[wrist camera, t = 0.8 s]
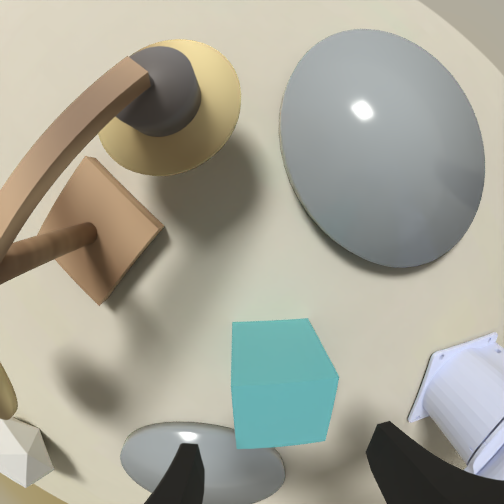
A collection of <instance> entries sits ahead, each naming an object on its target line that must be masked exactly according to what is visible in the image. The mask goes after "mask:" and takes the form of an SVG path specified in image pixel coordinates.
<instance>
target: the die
mask: <svg viewBox="0 0 504 504" xmlns="http://www.w3.org/2000/svg"><path fill="white" fill-rule="evenodd" d="M53 470H54V467H53V465H52V462H51V460H50V457H49V455H48V452H47V450H46V447H45V444H44V441H43V438H42V435H41V432H40V429H39V428H37V427H34V426H32V425H29V424H27V423H25V422H22V421H20V420H18V419H15V418H13V417H11V418H10V419H9V420H3V419H0V473H2V474H4V475H5V476H7V477H8V478H10V479H12V480H13V481H15V482H17V483H18V484H20V485H22V486H24V487H25V488H26V487H28V486H30V485H31V484H33V483H35V482H36V481H38V480H39V479H41V478H42V477H44V476H46V475H47V474H49V473H50V472H52V471H53Z"/></svg>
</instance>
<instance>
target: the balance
mask: <svg viewBox="0 0 504 504" xmlns="http://www.w3.org/2000/svg"><path fill="white" fill-rule="evenodd" d="M240 105H241V90H240V84H239V80H238V77H237V74H236V72H235V70H234V68H233V67H232V65H231V63H230V62H229V61H228V60H227V59H226V58H225V57H224V56H223V55H222V54H221V53H220V52H219V51H217V50H215V49H214V48H212V47H210V46H208V45H206V44H204V43H200V42H197V41H192V40H181V39H176V40H167V41H162V42H158V43H155V44H151V45H149V46H147V47H144V48H142V49H140V50H139V51H137V52H135V53H134V54H132V55H131V56H129V57H128V56H127V57H125V58H124V59H123V60H121V61H120V62H119V63H118V64H116V65H115V66H114V67H112V68H111V69H110V70H109V71H107V72H106V73H105V74H104V75H102V76H101V77H100V78H99V79H98V80H97V81H95V82H94V83H93V84H92V85H91V86H90V87H89V88H87V89H86V90H85V91H84V92H83V93H82V94H81V95H80V96H79V97H78V98H77V99H76V100H75V101H74V102H72V103H71V104H70V105H69V106H68V107H67V108H66V109H65V110H64V111H63V112H62V114H61V115H60V116H59V117H58V118H57V119H56V120H55V121H54V122H53V123H52V124H51V125H50V126H49V127H48V129H47V130H46V131H45V132H44V133H43V134H42V135H41V137H40V138H39V139H38V140H37V141H36V143H35V144H34V145H33V146H32V147H31V149H30V150H29V151H28V152H27V154H26V155H25V156H24V158H23V159H22V160H21V162H20V163H19V164H18V166H17V167H16V168H15V170H14V171H13V173H12V174H11V175H10V177H9V178H8V180H7V181H6V183H5V184H4V186H3V187H2V189H1V190H0V284H2V283H4V282H6V281H8V280H11V279H13V278H15V277H17V276H19V275H21V274H23V273H25V272H27V271H29V270H32V269H34V268H36V267H38V266H40V265H42V264H45V263H47V262H49V261H51V260H54V259H55V260H56V261H57V262H58V264H59V265H60V266H61V267H62V268H63V269H64V270H65V271H66V272H67V273H68V275H69V276H70V277H71V278H72V279H73V280H74V281H75V282H76V283H77V284H78V285H79V286H80V287H81V288H82V289H83V290H84V291H85V292H86V293H87V294H88V295H89V296H90V297H91V298H92V299H93V300H94V301H95V302H96V303H97V304H98V305H99V306H100V305H101V304H102V303H103V302H104V301H105V300H106V299H107V298H108V297H109V295H110V294H111V293H112V291H113V290H114V289H115V287H116V286H117V285H118V283H119V282H120V281H121V279H122V278H123V277H124V276H125V274H126V273H127V272H128V270H129V269H130V268H131V267H132V265H133V264H134V263H135V262H136V260H137V259H138V258H139V257H140V255H141V254H142V253H143V252H144V250H145V249H146V248H147V247H148V245H149V244H150V243H151V242H152V241H153V239H154V238H155V237H156V236H157V235H158V233H159V232H160V231H161V230H162V229H163V227H164V225H163V224H162V223H161V222H160V221H159V220H158V219H156V218H155V217H154V216H153V215H152V214H151V213H150V212H149V211H148V210H147V209H146V208H145V207H144V206H143V205H142V204H141V203H140V202H139V201H138V200H137V199H136V198H135V197H134V196H133V195H132V194H131V193H130V192H129V191H128V190H127V189H126V188H125V187H124V186H123V185H122V184H121V183H119V182H118V181H117V180H116V179H115V178H114V177H113V176H112V174H111V173H110V172H109V171H108V170H107V169H106V168H105V167H104V166H103V165H102V164H101V163H100V162H99V161H98V160H97V159H96V158H93V157H87V156H85V157H84V159H83V160H82V162H81V163H80V164H79V166H78V167H77V169H76V170H75V172H74V173H73V175H72V176H71V178H70V179H69V181H68V182H67V184H66V185H65V187H64V189H63V190H62V192H61V193H60V195H59V197H58V198H57V200H56V202H55V203H54V205H53V207H52V209H51V210H50V212H49V214H48V216H47V217H46V219H45V221H44V223H43V225H42V227H41V229H40V231H39V233H38V235H37V236H34V237H31V238H28V239H24V240H21V241H18V242H15V243H13V241H14V240H15V238H16V236H17V235H18V233H19V232H20V230H21V228H22V227H23V225H24V224H25V222H26V221H27V219H28V218H29V216H30V215H31V213H32V212H33V210H34V209H35V208H36V206H37V205H38V203H39V202H40V201H41V199H42V198H43V196H44V195H45V194H46V192H47V191H48V190H49V189H50V187H51V186H52V185H53V183H54V182H55V181H56V180H57V178H58V177H59V176H60V175H61V174H62V172H63V171H64V170H65V169H66V168H67V166H68V165H69V164H70V163H71V162H72V161H73V159H74V158H75V157H76V156H77V155H78V154H79V153H80V152H81V151H82V149H83V148H84V147H85V146H86V145H87V144H88V143H89V142H90V141H91V140H92V139H93V138H94V137H95V136H96V135H97V134H98V135H99V138H100V141H101V143H102V145H103V147H104V148H105V150H106V152H107V153H108V154H109V155H110V156H111V158H112V159H113V160H115V161H116V162H117V163H118V164H120V165H121V166H123V167H125V168H126V169H129V170H131V171H133V172H137V173H140V174H145V175H152V176H169V175H176V174H180V173H183V172H186V171H189V170H191V169H194V168H196V167H198V166H199V165H201V164H203V163H204V162H206V161H207V160H209V159H210V158H211V157H213V156H214V155H215V154H216V153H217V152H218V151H219V150H220V149H221V148H222V147H223V146H224V144H225V143H226V142H227V140H228V139H229V137H230V136H231V134H232V132H233V130H234V128H235V126H236V123H237V121H238V118H239V113H240ZM17 407H18V403H17V398H16V394H15V391H14V389H13V386H12V384H11V382H10V380H9V378H8V376H7V374H6V372H5V370H4V368H3V366H2V365H1V363H0V419H3V420H9V419H10V418H11V417H12V416H13V415H14V413H15V412H16V411H17Z"/></svg>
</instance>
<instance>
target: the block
mask: <svg viewBox="0 0 504 504" xmlns="http://www.w3.org/2000/svg"><path fill="white" fill-rule="evenodd" d="M338 380H339V376H338V374H337V372H336V370H335V368H334V366H333V364H332V363H331V361H330V359H329V357H328V355H327V353H326V351H325V349H324V348H323V346H322V344H321V342H320V340H319V338H318V336H317V335H316V333H315V331H314V329H313V327H312V325H311V323H310V322H309V320H308V318H307V319H292V320H275V321H253V322H232V362H231V392H232V404H233V416H234V427H235V438H236V448H237V449H255V448H271V447H282V446H292V445H300V444H308V443H314V442H321V441H325V439H326V435H327V431H328V427H329V423H330V419H331V414H332V410H333V405H334V400H335V395H336V390H337V385H338Z"/></svg>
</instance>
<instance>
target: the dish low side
mask: <svg viewBox="0 0 504 504" xmlns="http://www.w3.org/2000/svg"><path fill="white" fill-rule="evenodd" d="M279 140H280V149H281V154H282V158H283V163H284V167H285V169H286V172H287V175H288V178H289V181H290V183H291V185H292V187H293V189H294V191H295V193H296V195H297V197H298V199H299V201H300V203H301V204H302V206H303V207H304V209H305V210H306V212H307V213H308V215H309V216H310V217H311V218H312V220H313V221H314V222H315V223H316V224H317V226H318V227H319V228H320V229H321V230H322V231H323V232H324V233H326V234H327V235H328V236H329V237H330V238H331V239H332V240H333V241H335V242H336V243H338V244H339V245H340V246H342V247H343V248H345V249H346V250H348V251H350V252H352V253H354V254H356V255H357V256H359V257H361V258H363V259H365V260H367V261H370V262H373V263H376V264H379V265H383V266H389V267H403V268H407V267H413V266H419V265H422V264H425V263H428V262H431V261H433V260H435V259H437V258H439V257H441V256H442V255H444V254H445V253H446V252H448V251H449V250H450V249H451V248H452V247H454V246H455V245H456V244H457V243H458V242H459V240H460V239H461V238H462V237H463V235H464V234H465V233H466V231H467V230H468V228H469V226H470V225H471V223H472V221H473V219H474V217H475V215H476V212H477V210H478V207H479V204H480V200H481V197H482V192H483V187H484V178H485V155H484V146H483V141H482V136H481V131H480V128H479V125H478V121H477V118H476V116H475V113H474V111H473V109H472V106H471V104H470V102H469V100H468V98H467V97H466V95H465V93H464V91H463V90H462V88H461V87H460V85H459V84H458V82H457V81H456V80H455V78H454V77H453V76H452V75H451V73H450V72H449V71H448V70H447V69H446V68H445V67H444V66H443V65H442V64H441V63H440V62H439V61H438V60H437V59H436V58H435V57H433V56H432V55H431V54H430V53H429V52H427V51H426V50H424V49H423V48H421V47H420V46H418V45H417V44H415V43H413V42H411V41H409V40H407V39H405V38H403V37H400V36H398V35H395V34H392V33H388V32H384V31H380V30H371V29H354V30H348V31H343V32H340V33H337V34H334V35H331V36H329V37H327V38H325V39H324V40H322V41H320V42H319V43H317V44H316V45H315V46H314V47H312V48H311V49H310V50H309V51H308V52H307V53H306V54H305V55H304V56H303V58H302V59H301V60H300V61H299V63H298V64H297V66H296V68H295V70H294V72H293V73H292V75H291V77H290V79H289V81H288V83H287V86H286V89H285V92H284V95H283V97H282V102H281V107H280V113H279Z"/></svg>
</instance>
